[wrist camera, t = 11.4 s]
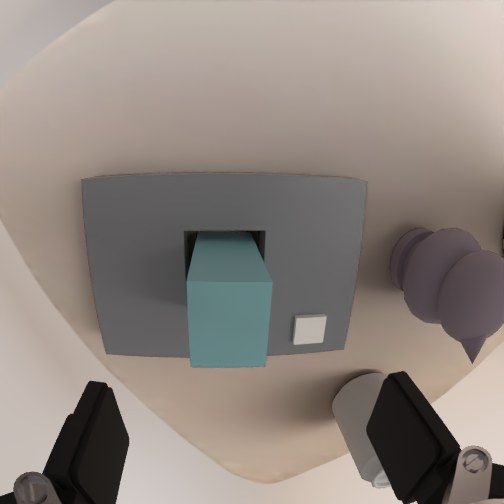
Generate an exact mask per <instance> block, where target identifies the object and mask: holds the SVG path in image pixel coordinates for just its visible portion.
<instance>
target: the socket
mask: <svg viewBox="0 0 504 504" xmlns="http://www.w3.org/2000/svg"><path fill="white" fill-rule="evenodd" d="M366 193H367V181H365V180H360V179H355V178H348V177H336V176H321V175H305V174H284V173H254V172H174V173H145V174H125V175H109V176H96V177H91V178H86V179H82V198H83V214H84V226H85V236H86V246H87V254H88V262H89V269H90V276H91V282H92V288H93V294H94V300H95V305H96V311H97V316H98V321H99V325H100V330H101V334H102V339H103V343H104V347H105V351H106V354H112V355H127V356H146V357H179V358H190V347H189V330H188V310H187V282H186V281H187V277H188V272H189V253H188V231H210V230H259V252H260V255H261V257H262V259H263V261H264V264H265V266H266V268H267V270H268V273H269V275H270V277H271V279H272V282H273V285H272V297H271V309H270V321H269V333H268V344H267V355H266V356H274V355H289V354H302V353H314V352H324V351H334V350H343V349H344V346H345V342H346V337H347V332H348V326H349V321H350V316H351V310H352V304H353V299H354V292H355V286H356V280H357V273H358V266H359V259H360V251H361V243H362V234H363V225H364V215H365V205H366Z"/></svg>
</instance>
